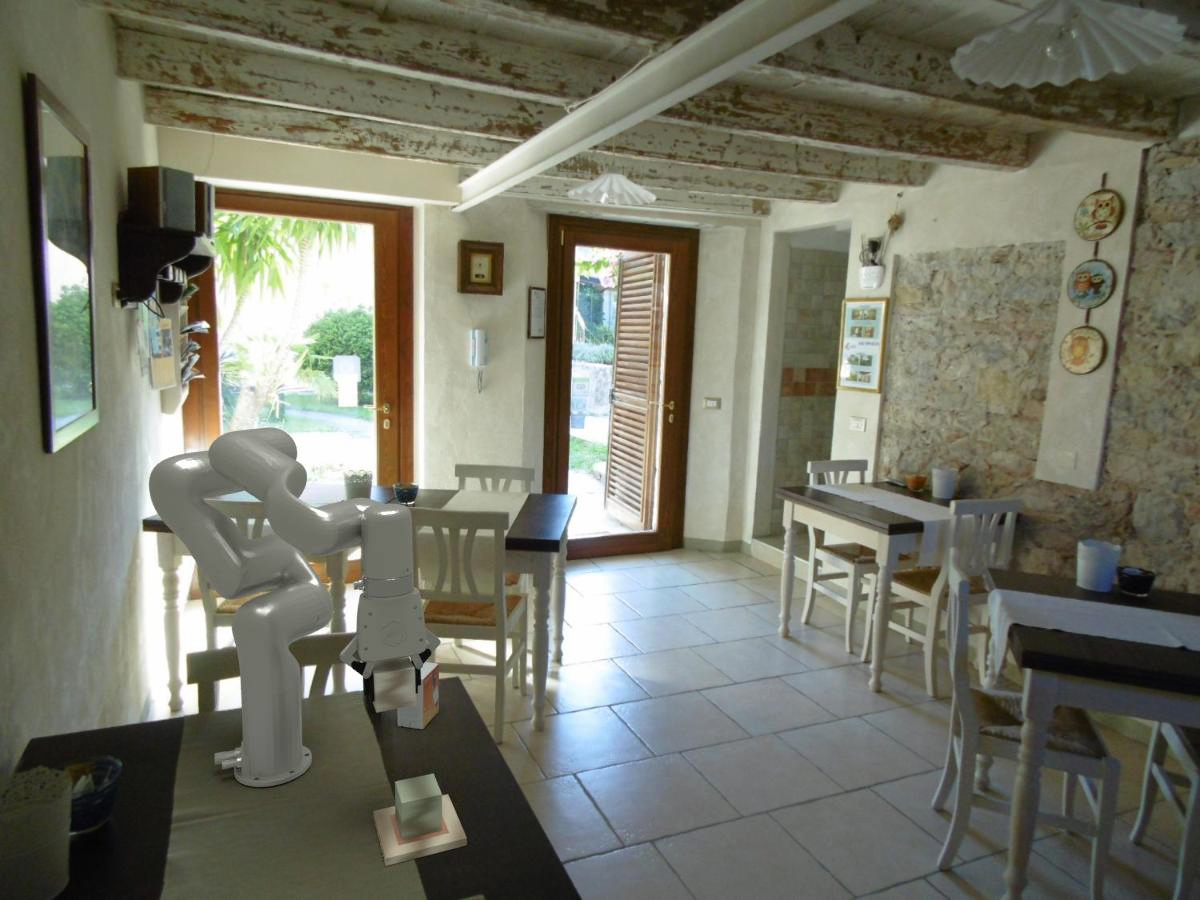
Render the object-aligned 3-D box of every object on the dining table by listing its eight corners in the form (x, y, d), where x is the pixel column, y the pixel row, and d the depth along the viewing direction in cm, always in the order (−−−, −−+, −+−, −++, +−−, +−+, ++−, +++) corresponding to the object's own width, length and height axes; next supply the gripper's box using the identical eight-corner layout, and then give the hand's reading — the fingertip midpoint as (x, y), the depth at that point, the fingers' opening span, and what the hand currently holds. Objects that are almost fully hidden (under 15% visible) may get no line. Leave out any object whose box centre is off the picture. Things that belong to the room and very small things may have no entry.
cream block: (376, 712, 115) (375, 675, 114) (370, 696, 120) (369, 660, 119) (416, 704, 117) (414, 668, 116) (408, 689, 123) (407, 654, 122)
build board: (385, 866, 109) (385, 857, 108) (373, 817, 119) (373, 810, 119) (466, 845, 114) (466, 837, 114) (447, 800, 124) (448, 793, 124)
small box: (423, 730, 146) (423, 679, 145) (396, 726, 148) (396, 676, 146) (439, 711, 154) (439, 662, 153) (414, 707, 155) (414, 659, 154)
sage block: (402, 840, 112) (401, 803, 112) (395, 816, 118) (395, 781, 117) (441, 830, 115) (441, 794, 114) (433, 808, 120) (433, 773, 119)
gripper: (332, 599, 109) (338, 716, 111) (449, 583, 116) (452, 693, 119) (327, 584, 116) (332, 695, 118) (438, 571, 123) (441, 675, 125)
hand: (392, 693), depth 118 cm, fingers closed on cream block, 6 cm apart
